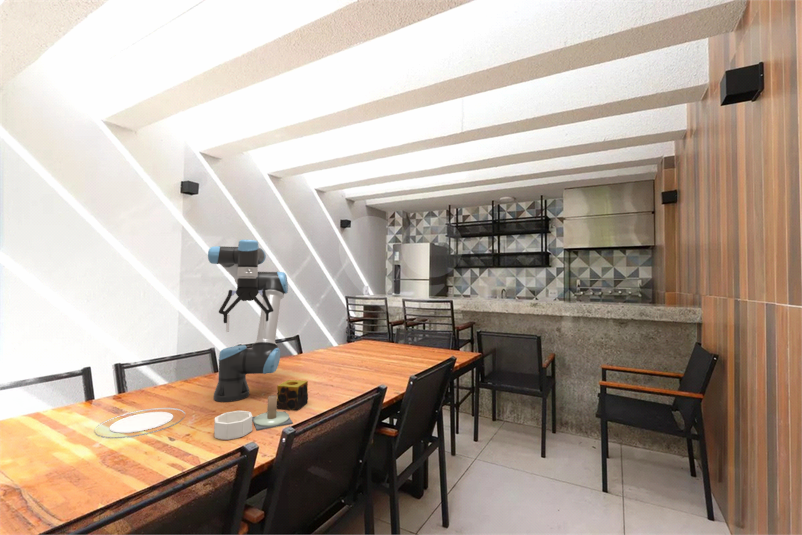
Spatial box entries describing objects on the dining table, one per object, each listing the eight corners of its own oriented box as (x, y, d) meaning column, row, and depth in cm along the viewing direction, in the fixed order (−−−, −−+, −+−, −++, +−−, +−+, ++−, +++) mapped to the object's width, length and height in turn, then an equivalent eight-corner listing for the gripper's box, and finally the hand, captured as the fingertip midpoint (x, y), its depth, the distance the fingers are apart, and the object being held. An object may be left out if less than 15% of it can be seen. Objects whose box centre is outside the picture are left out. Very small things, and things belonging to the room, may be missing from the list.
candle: (297, 411, 149) (297, 387, 149) (275, 409, 151) (276, 385, 151) (308, 403, 159) (308, 380, 159) (287, 401, 161) (288, 379, 161)
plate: (101, 446, 116) (101, 444, 116) (89, 423, 135) (89, 421, 135) (195, 422, 137) (195, 420, 137) (173, 404, 156) (173, 403, 156)
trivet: (251, 418, 140) (251, 417, 140) (285, 412, 147) (285, 411, 147) (256, 430, 129) (256, 429, 129) (292, 423, 136) (292, 422, 136)
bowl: (213, 429, 130) (214, 414, 130) (249, 423, 136) (249, 408, 136) (215, 442, 119) (215, 426, 119) (253, 435, 125) (253, 419, 125)
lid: (251, 416, 140) (252, 394, 141) (285, 411, 147) (285, 389, 147) (256, 429, 129) (257, 404, 129) (292, 422, 135) (293, 399, 136)
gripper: (213, 277, 134) (211, 333, 133) (281, 278, 146) (280, 329, 145) (212, 277, 140) (210, 331, 139) (277, 278, 153) (276, 327, 152)
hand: (246, 330), depth 142 cm, fingers open, 13 cm apart
